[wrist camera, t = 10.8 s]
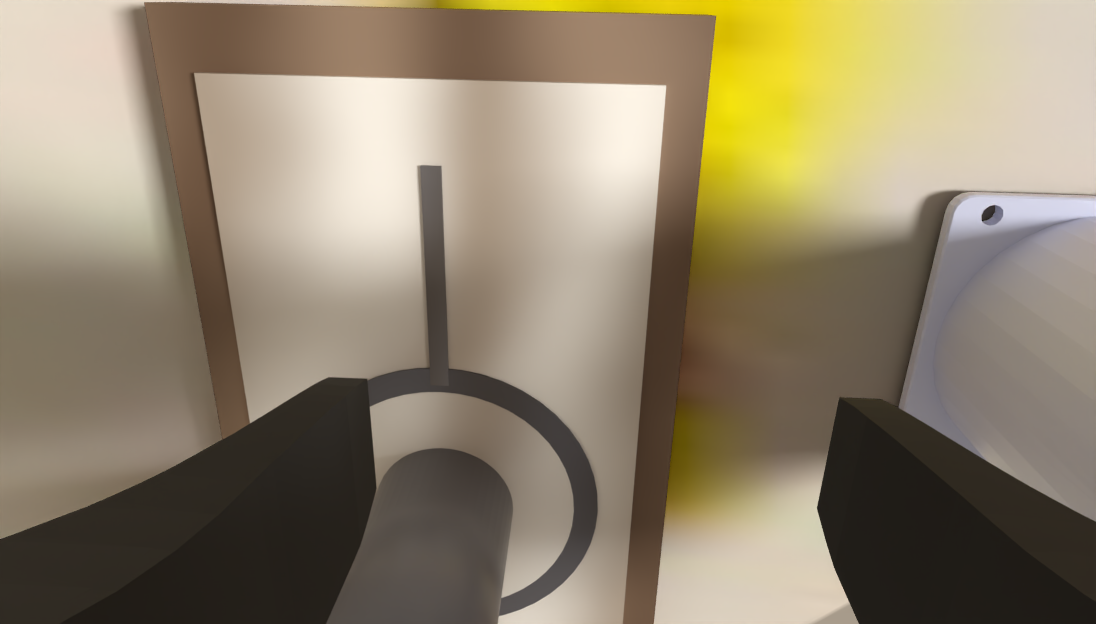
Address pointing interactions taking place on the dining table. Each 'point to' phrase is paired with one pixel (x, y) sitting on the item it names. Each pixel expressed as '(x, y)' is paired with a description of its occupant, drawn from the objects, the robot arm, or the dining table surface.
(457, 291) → the writing board
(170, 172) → the dining table surface
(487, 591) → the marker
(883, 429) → the robot arm
